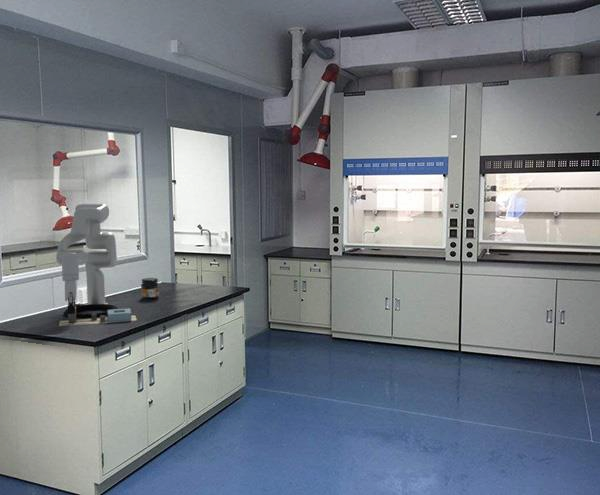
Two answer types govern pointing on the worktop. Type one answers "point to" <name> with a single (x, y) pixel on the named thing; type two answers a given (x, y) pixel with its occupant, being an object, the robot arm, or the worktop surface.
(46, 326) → the worktop surface
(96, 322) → the board
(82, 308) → the cable lock
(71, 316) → the connector plug
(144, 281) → the supplement container
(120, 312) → the end holder
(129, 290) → the worktop surface
